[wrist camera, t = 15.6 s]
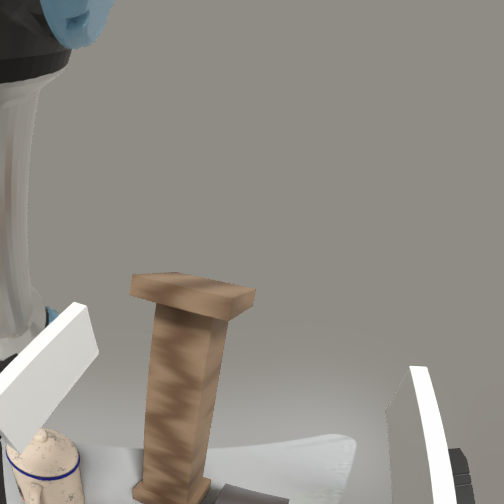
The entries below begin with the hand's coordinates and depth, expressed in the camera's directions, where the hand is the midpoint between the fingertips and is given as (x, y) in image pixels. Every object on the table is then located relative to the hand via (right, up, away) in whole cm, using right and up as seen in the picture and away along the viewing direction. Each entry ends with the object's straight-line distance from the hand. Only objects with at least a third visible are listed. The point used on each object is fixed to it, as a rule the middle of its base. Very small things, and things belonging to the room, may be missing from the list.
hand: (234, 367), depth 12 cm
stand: (-10, -28, +21) cm, 37 cm away
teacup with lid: (-23, -26, +11) cm, 37 cm away
